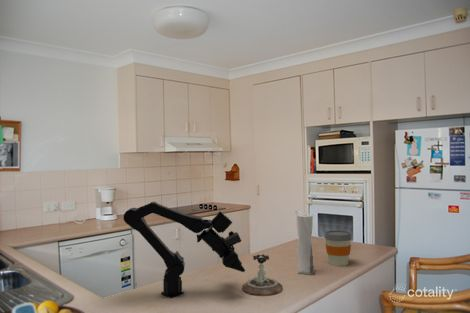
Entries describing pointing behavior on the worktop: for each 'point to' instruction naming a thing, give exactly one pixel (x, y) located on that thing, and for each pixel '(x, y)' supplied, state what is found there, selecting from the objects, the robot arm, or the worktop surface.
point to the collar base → (262, 288)
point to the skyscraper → (305, 244)
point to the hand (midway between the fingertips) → (242, 267)
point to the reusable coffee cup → (338, 247)
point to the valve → (261, 271)
